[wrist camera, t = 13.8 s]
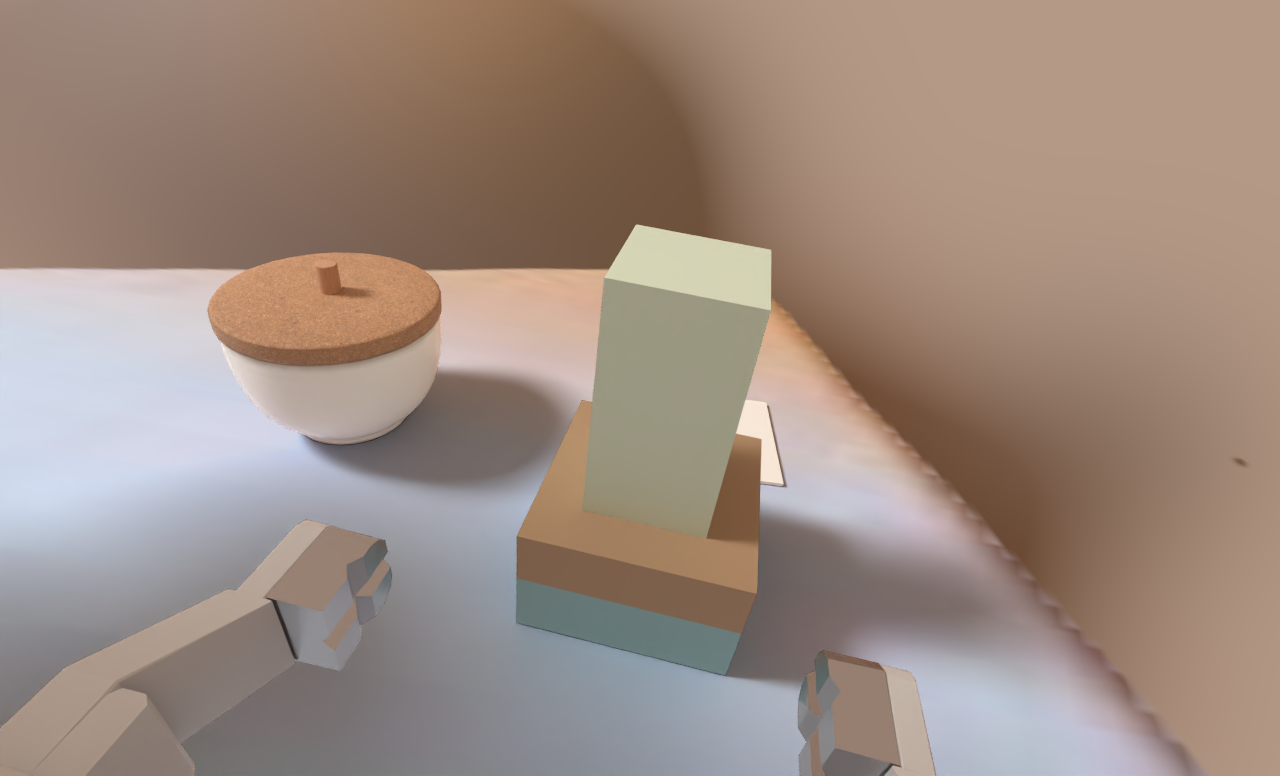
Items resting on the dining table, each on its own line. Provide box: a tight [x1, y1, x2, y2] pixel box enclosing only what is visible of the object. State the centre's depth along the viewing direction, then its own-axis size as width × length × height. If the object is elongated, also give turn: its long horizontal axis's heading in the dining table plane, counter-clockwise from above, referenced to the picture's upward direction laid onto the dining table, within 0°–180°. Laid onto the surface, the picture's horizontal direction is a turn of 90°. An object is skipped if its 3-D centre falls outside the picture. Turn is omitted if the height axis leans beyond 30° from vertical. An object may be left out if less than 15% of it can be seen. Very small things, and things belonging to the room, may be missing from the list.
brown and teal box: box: [516, 400, 762, 675], centre depth 27 cm, size 9×9×6 cm
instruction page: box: [736, 400, 783, 486], centre depth 37 cm, size 10×8×1 cm
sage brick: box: [582, 225, 771, 539], centre depth 22 cm, size 5×5×10 cm
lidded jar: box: [208, 253, 441, 445], centre depth 32 cm, size 11×11×9 cm
